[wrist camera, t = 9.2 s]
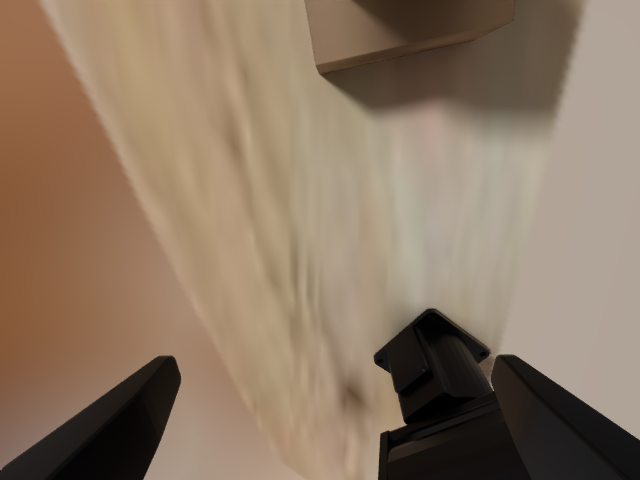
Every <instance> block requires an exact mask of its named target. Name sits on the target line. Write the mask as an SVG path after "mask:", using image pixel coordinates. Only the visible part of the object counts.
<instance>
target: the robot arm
mask: <svg viewBox="0 0 640 480" xmlns="http://www.w3.org/2000/svg"><path fill="white" fill-rule="evenodd" d="M430 315H433V316H432V317H429V316H430ZM480 352H481V353H480ZM488 356H489V351H488V349H487V348H486V346H484V345H483V344H481V343H480V342H479V341H477V340H476V339H475V338H473V337H472V336H470V335H469V334H468V333H466V332H465V331H464V330H462V329H461V328H460V327H458V326H457V325H455V324H454V323H453V322H451V321H450V320H449V319H447V318H446V317H444V316H443V315H442V314H440V313H439V312H438V311H436V310H435V309H427V310H426V311H424V312H423V313H422V314H421V315H420V316H419V317H417V318H416V319H415V320H414V321H413V322H412V323H411V324H409V325H408V326H407V327H406V328H405V329H403V330H402V331H401V332H400V333H399V334H398V335H396V336H395V337H394V338H393V339H392V340H391V341H390V342H388V343H387V344H386V345H385V346H384V347H383V348H382V349H380V350H379V351H378V352H377V353H376V354H375V355H374V362H375V364H376V365H378V366H380V367H381V368H383V369H384V370H386V371H387V372H389V373H391V376H392V380H393V385H394V389H395V392H396V393H398V398H399V402H400V407H401V411H402V416H403V420H404V422H405V423H406V424H407V425H406V426H403V427H400V428H398V429H395V430H393V431H386V432H383V433H381V434H380V453H379V472H378V480H640V440H639V439H637V438H635V437H634V436H633V435H631V434H630V433H628V432H627V431H625V430H624V429H622V428H621V427H620V426H618V425H617V424H615V423H613V422H612V421H611V420H609V419H608V418H606V417H605V416H604V415H602V414H601V413H599V412H598V411H596V410H595V409H593V408H592V407H590V406H589V405H587V404H586V403H584V402H583V401H582V400H580V399H579V398H577V397H576V396H574V395H573V394H571V393H570V392H568V391H567V390H565V389H564V388H563V387H561V386H560V385H558V384H557V383H555V382H554V381H552V380H551V379H549V378H548V377H547V376H545V375H544V374H542V373H541V372H539V371H538V370H536V369H535V368H533V367H532V366H530V365H529V364H527V363H526V362H524V361H523V360H521V359H520V358H519V357H517V356H515V355H498V356H497V357H496V359H495V363H494V367H493V371H492V374H491V383H492V386H493V389H494V391H493V390H492V388H491V386H490V384H489V383H488V381H487V379H486V377H485V376H484V374H483V372H482V370H481V368H480V367H479V365H478V363H480V362H481V361H483V360H484V359H485V358H487V357H488ZM180 383H181V375H180V372H179V369H178V365H177V362H176V360H175V358H174V357H173V356H158V357H156V358H155V359H153V360H152V361H150V362H149V363H148V364H146V365H145V366H143V367H142V368H141V369H139V370H138V371H137V372H135V373H134V374H132V375H131V376H129V377H128V378H127V379H126V380H124V381H123V382H121V383H120V384H118V385H117V386H116V387H114V388H113V389H111V390H110V391H109V392H107V393H106V394H104V395H103V396H102V397H100V398H99V399H97V400H96V401H95V402H93V403H92V404H90V405H89V406H88V407H87V408H85V409H83V410H82V411H81V412H79V413H78V414H77V415H75V416H74V417H72V418H71V419H70V420H68V421H67V422H65V423H64V424H63V425H61V426H60V427H58V428H57V429H56V430H54V431H53V432H51V433H50V434H49V435H47V436H46V437H44V438H43V439H42V440H40V441H39V442H37V443H36V444H35V445H33V446H32V447H30V448H29V449H28V450H26V451H25V452H23V453H22V454H21V455H19V456H18V457H16V458H15V459H14V460H13V461H11V462H9V463H8V464H7V465H5V466H4V467H3V468H2V470H0V480H143V479H144V476H145V475H146V472H147V470H148V468H149V466H150V463H151V461H152V459H153V457H154V455H155V452H156V450H157V448H158V446H159V443H160V441H161V438H162V435H163V433H164V430H165V427H166V424H167V421H168V419H169V416H170V413H171V410H172V407H173V404H174V401H175V398H176V395H177V393H178V390H179V387H180Z"/></svg>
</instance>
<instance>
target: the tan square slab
mask: <svg viewBox="0 0 640 480" xmlns="http://www.w3.org/2000/svg"><path fill="white" fill-rule="evenodd" d="M514 3H515V0H305V6H306V11H307V17H308V23H309V29H310V35H311V41H312V47H313V53H314V59H315V64H316V67H317V70H318V72H319V74H323V73H328V72H332V71H337V70H341V69H346V68H350V67H355V66H359V65H364V64H368V63H373V62H377V61H382V60H386V59H391V58H395V57H400V56H404V55H409V54H413V53H418V52H422V51H427V50H431V49H436V48H440V47H445V46H449V45H454V44H458V43H463V42H467V41H472V40H474V39H476V38H479V37H481V36H483V35H485V34H487V33H489V32H491V31H493V30H495V29H497V28H499V27H501V26H503V25H505V24H507V23H509V22H511V21H513V19H514Z"/></svg>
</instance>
